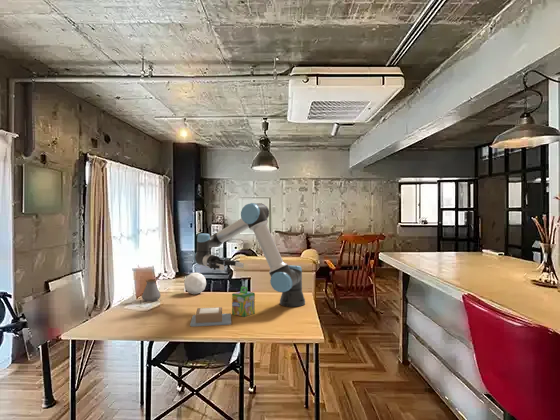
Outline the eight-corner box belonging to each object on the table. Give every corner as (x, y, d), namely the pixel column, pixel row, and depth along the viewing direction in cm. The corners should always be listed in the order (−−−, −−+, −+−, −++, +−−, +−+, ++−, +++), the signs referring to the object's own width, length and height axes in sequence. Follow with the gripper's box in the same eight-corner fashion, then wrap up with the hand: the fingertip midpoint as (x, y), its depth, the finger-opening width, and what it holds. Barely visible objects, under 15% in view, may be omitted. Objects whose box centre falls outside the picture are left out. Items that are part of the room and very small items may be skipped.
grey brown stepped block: (230, 315, 213) (230, 305, 213) (231, 324, 197) (231, 313, 197) (192, 317, 210) (192, 307, 210) (190, 326, 194) (190, 315, 194)
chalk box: (231, 314, 214) (231, 287, 214) (242, 311, 222) (242, 284, 222) (244, 317, 209) (244, 289, 209) (255, 313, 217) (255, 286, 216)
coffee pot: (156, 302, 243) (155, 278, 243) (138, 302, 245) (137, 278, 244) (169, 295, 264) (169, 272, 264) (153, 294, 266) (153, 272, 266)
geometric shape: (200, 300, 271) (213, 281, 274) (192, 296, 257) (205, 277, 260) (185, 288, 276) (198, 270, 279) (176, 284, 262) (190, 266, 265)
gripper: (228, 265, 246) (250, 271, 231) (193, 269, 228) (214, 275, 213) (228, 253, 245) (250, 258, 230) (194, 256, 228) (215, 262, 213)
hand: (233, 266), depth 222 cm, fingers open, 13 cm apart
